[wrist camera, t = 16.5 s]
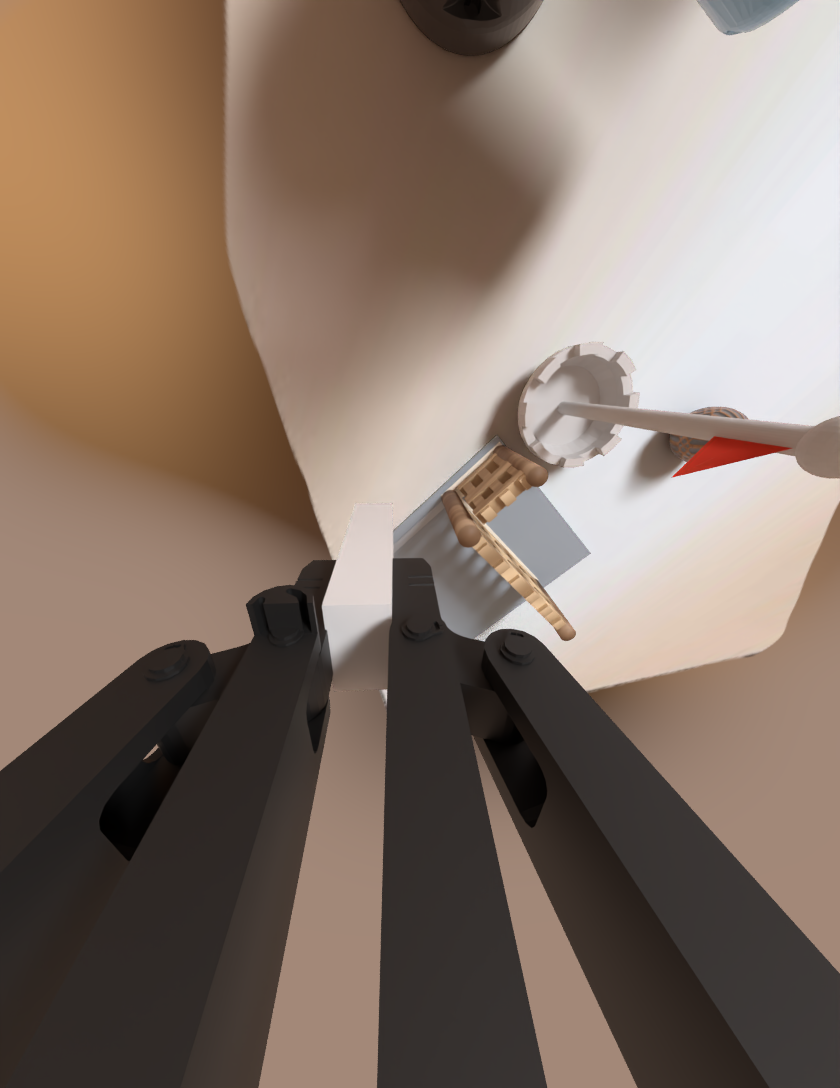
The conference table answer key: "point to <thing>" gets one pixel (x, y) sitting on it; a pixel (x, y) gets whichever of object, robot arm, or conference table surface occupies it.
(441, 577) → the board
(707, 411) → the vase
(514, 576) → the fence leaf
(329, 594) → the robot arm
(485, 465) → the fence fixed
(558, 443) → the flag stand
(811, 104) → the conference table surface
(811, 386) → the conference table surface
